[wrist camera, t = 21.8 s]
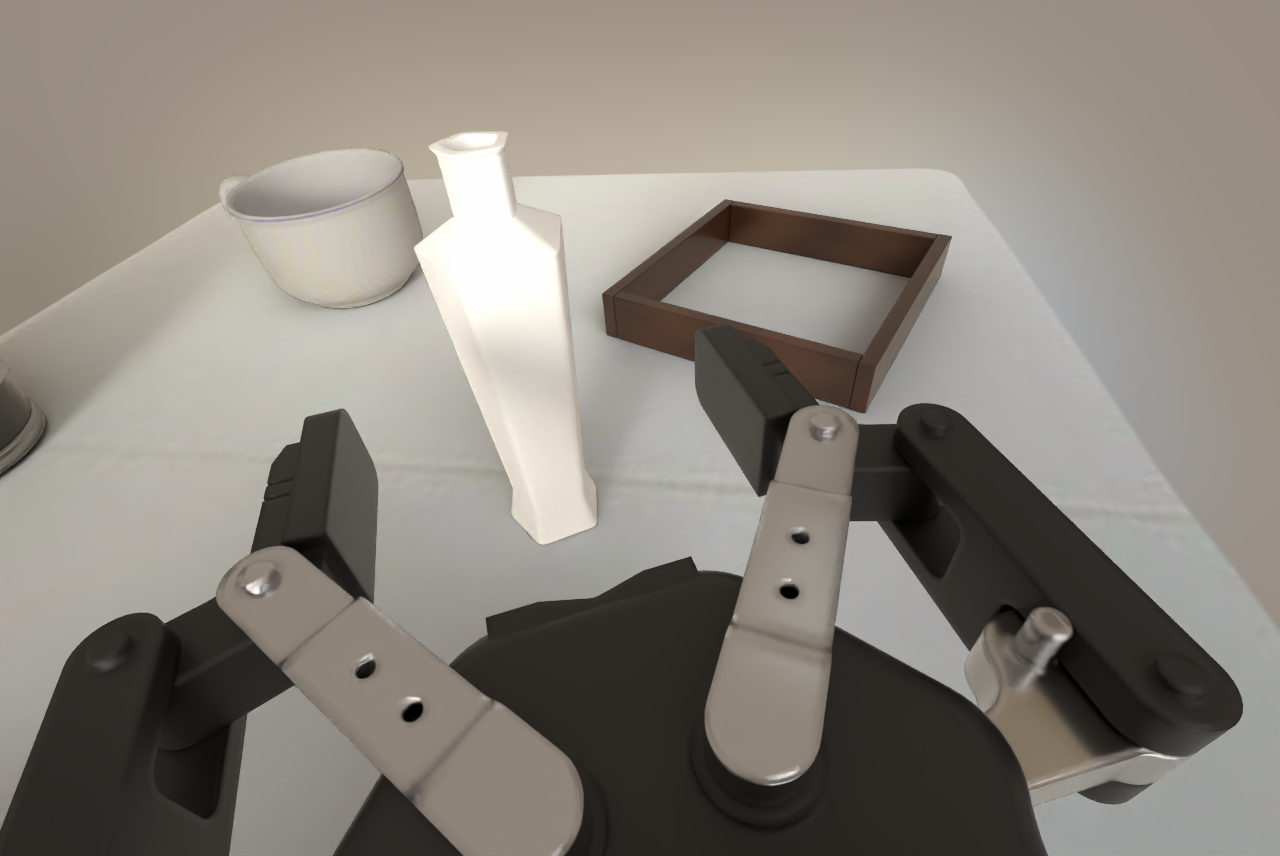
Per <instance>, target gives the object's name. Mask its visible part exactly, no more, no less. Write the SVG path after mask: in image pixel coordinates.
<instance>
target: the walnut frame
mask: <svg viewBox="0 0 1280 856" xmlns="http://www.w3.org/2000/svg"><path fill="white" fill-rule="evenodd" d="M951 238H952V236H947V235H941V234H933V233H927V232H921V231H915V230H909V229H903V228H897V227H891V226H884V225H878V224H872V223H866V222H860V221H854V220H848V219H841V218H835V217H829V216H823V215H817V214H811V213H805V212H799V211H792V210H786V209H780V208H774V207H768V206H762V205H756V204H750V203H743V202H737V201H735V202H734V201H732V200H726V199H725V200H724V201H722V202H721V203H720V204H718V205H717V206H716V207H715V208H713V209H712V210H711V211H709V212H708V213H707V214H705V215H704V216H703V217H701V218H700V219H699V220H698V221H696V222H695V223H694V224H692V225H691V226H690V227H688V228H687V229H686V230H685V231H683V232H682V233H681V234H679V235H678V236H677V237H675V238H674V239H673V240H672V241H670V242H669V243H668V244H666V245H665V246H664V247H662V248H661V249H660V250H659V251H657V252H656V253H655V254H653V255H652V256H651V257H649V258H648V259H647V260H646V261H644V262H643V263H642V264H640V265H639V266H638V267H636V268H635V269H634V270H633V271H631V272H630V273H629V274H627V275H626V276H625V277H623V278H622V279H621V280H620V281H618V282H617V283H616V284H614V285H613V286H612V287H610V288H609V289H608V290H607V291H605V292H604V293H603V294H602V298H603V306H604V314H605V322H606V331H607V335H610V336H613V337H616V338H620V339H623V340H627V341H630V342H633V343H637V344H640V345H643V346H646V347H650V348H653V349H656V350H659V351H663V352H666V353H669V354H673V355H676V356H679V357H682V358H686V359H689V360H692V361H695V333H696V330H697V329H700V328H705V327H709V326H713V325H718V324H722V323H729V324H730V325H731V327H732V328H733V329H734V330H735V331H736V333H737V334H738V335H739V336H740V337H741V339H742V340H745V339H749V338H753V339H755V340H757V341H759V342H761V343H762V344H764V345H766V346H768V347H770V348H771V350H772V351H773V352H774V353H775V354H776V355H777V357H778V358H779V359H780V362H783V363H784V365H785V366H786V367H787V368H788V369H789V372H791V373H792V374H793V375H794V376H795V377H796V378H797V379H798V381H799V382H800V383H801V384H802V385H803V386H804V388H805V389H806V390H807V391H808V392H809V393H810V394H811V396H812V397H814V398H817V399H820V400H824V401H827V402H830V403H834V404H837V405H840V406H843V407H847V408H848V407H849V409H852V410H855V411H859V412H862V413H865V412H866V410H867V409H868V407H869V405H870V403H871V401H872V400H873V398H874V396H875V394H876V392H877V391H878V389H879V387H880V385H881V383H882V381H883V380H884V378H885V376H886V374H887V372H888V371H889V369H890V367H891V365H892V363H893V362H894V360H895V358H896V356H897V354H898V353H899V351H900V349H901V347H902V345H903V343H904V342H905V340H906V338H907V336H908V334H909V333H910V331H911V329H912V327H913V325H914V324H915V322H916V320H917V318H918V316H919V315H920V313H921V311H922V309H923V307H924V305H925V304H926V302H927V300H928V298H929V296H930V295H931V293H932V291H933V289H934V287H935V286H936V284H937V282H938V280H939V278H940V276H941V273H942V269H943V266H944V262H945V259H946V255H947V252H948V249H949V245H950V242H951ZM728 241H731V242H736V243H741V244H746V245H751V246H756V247H761V248H766V249H772V250H777V251H782V252H787V253H792V254H797V255H802V256H807V257H812V258H817V259H822V260H827V261H833V262H838V263H843V264H848V265H853V266H858V267H863V268H868V269H873V270H878V271H883V272H888V273H893V274H899V275H904V276H909V277H912V278H911V279H910V281H909V283H908V284H907V286H906V288H905V289H904V291H903V292H902V294H901V296H900V297H899V299H898V300H897V302H896V304H895V305H894V307H893V309H892V310H891V312H890V313H889V315H888V317H887V318H886V320H885V321H884V323H883V325H882V326H881V328H880V330H879V331H878V333H877V334H876V336H875V338H874V339H873V341H872V342H871V344H870V346H869V347H868V349H867V351H866V352H865V354H864V355H862V354H859V353H855V352H851V351H847V350H843V349H839V348H836V347H832V346H828V345H824V344H820V343H817V342H813V341H809V340H805V339H801V338H797V337H794V336H790V335H786V334H782V333H778V332H774V331H771V330H767V329H763V328H759V327H755V326H752V325H748V324H744V323H740V322H736V321H732V320H729V319H725V318H721V317H717V316H713V315H709V314H706V313H702V312H698V311H694V310H690V309H687V308H683V307H679V306H675V305H671V304H667V303H664V302H660V300H661V299H663V298H664V297H665V296H666V295H667V294H668V293H669V292H671V291H672V290H673V289H674V288H675V287H676V286H678V285H679V284H680V283H681V282H682V281H683V280H684V279H686V278H687V277H688V276H689V275H690V274H691V273H693V272H694V271H695V270H696V269H697V268H698V267H699V266H701V265H702V264H703V263H704V262H705V261H706V260H707V259H709V258H710V257H711V256H712V255H713V254H714V253H716V252H717V251H718V250H719V249H720V248H721V247H722V246H724V245H725V244H726V243H727V242H728Z"/></svg>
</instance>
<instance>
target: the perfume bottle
mask: <svg viewBox="0 0 1280 856" xmlns="http://www.w3.org/2000/svg"><path fill="white" fill-rule="evenodd" d="M507 138H508V134H507V132H501V131H495V132H492V131H485V132H483V131H480V132H479V131H476V132H475V131H474V132H473V131H472V132H471V131H470V132H462V133H458V134H456V135H453V136H451V137H448V138H446V139H443V140H441V141H438V142H436V143H433V144H431V145H430V146H429V149H430V150H431V151H432V152H434V153H435V154H436V155H437V158H438V161H439V165H440V169H441V172H442V176H443V179H444V183H445V187H446V190H447V194H448V198H449V201H450V205H451V208H452V212H453V216H452V217H451V218H450V219H449V220H447V221H446V222H445V223H443V224H442V225H441V226H440V227H438V228H437V229H436V230H434V231H433V232H432V233H431V234H429V235H428V236H427V237H426V238H424V239H423V240H422V241H420V242H419V243H418V244H417V245H415V246H414V250H415V253H416V255H417V258H418V260H419V262H420V265H421V267H422V270H423V272H424V274H425V277H426V279H427V282H428V284H429V287H430V289H431V291H432V294H433V296H434V299H435V301H436V304H437V306H438V308H439V311H440V313H441V316H442V318H443V320H444V323H445V325H446V328H447V330H448V333H449V335H450V337H451V340H452V342H453V345H454V347H455V350H456V352H457V354H458V357H459V359H460V362H461V364H462V366H463V369H464V371H465V374H466V376H467V379H468V381H469V383H470V386H471V388H472V391H473V393H474V396H475V398H476V400H477V403H478V405H479V408H480V410H481V412H482V415H483V417H484V420H485V422H486V425H487V427H488V429H489V432H490V434H491V437H492V439H493V441H494V444H495V446H496V449H497V451H498V454H499V456H500V458H501V461H502V463H503V466H504V468H505V471H506V473H507V475H508V478H509V480H510V483H511V485H512V487H513V495H512V509H511V514H512V516H513V517H514V518H515V519H516V520H517V522H518V523H519V524H520V525H521V526H522V527H523V528H524V529H525V530H526V531H527V532H528V533H529V535H530V536H531V537H532V538H533V539H534V540H535V541H536V542H537V543H538V544H540V545H545V544H548V543H551V542H554V541H557V540H560V539H562V538H565V537H568V536H571V535H573V534H576V533H579V532H582V531H585V530H587V529H590V528H592V527H594V526H595V525H596V524H597V503H596V485H595V483H594V482H593V480H592V478H591V477H590V475H589V473H588V471H587V470H586V468H585V466H584V457H583V446H582V435H581V425H580V414H579V403H578V393H577V382H576V371H575V361H574V350H573V339H572V329H571V318H570V307H569V297H568V286H567V275H566V265H565V254H564V243H563V233H562V222H561V216H560V215H557V214H554V213H550V212H547V211H543V210H540V209H536V208H533V207H529V206H526V205H522V204H519V203H517V201H516V196H515V191H514V186H513V181H512V177H511V172H510V167H509V162H508V157H507V152H506V147H505V145H506V141H507Z"/></svg>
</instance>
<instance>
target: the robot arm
mask: <svg viewBox="0 0 1280 856" xmlns="http://www.w3.org/2000/svg"><path fill="white" fill-rule="evenodd" d="M9 369H10V368H9V367H8V366H7V365H6V364H5V363H4V362H3V361H2V360H1V359H0V475H1V474H2V473H3V472H5V471H6V470H8V469H9V468H10V467H11V466H13V465H14V464H15V463H17V462H18V461H19V460H20V459H21V458H22V457H23V456H24V455H26V454H27V453H28V452H29V451H30V450H31V448H32V447H33V446H34V445H35V444H36V443H37V441H38V440H39V439H40V437H41V435H42V434H43V431H44V429H45V425H46V419H45V416H44V414H43V413H42V412H41V411H40V410H39V408H38V407H37V406H36V405H35V404H34V403H33V402H32V401H31V400H30V399H29V398H27V397H25V396H23V395H22V394H21V393H20V392H19V391H18V390H17V389H16V388H15V387H14V385H13V384H12V383H11V382H10V381H9V380H8V379H7V378H6V377H5V376H6V374H7V372H8V371H9ZM695 385H696V391H697V395H698V398H699V401H700V403H701V405H702V407H703V409H704V410H705V412H706V414H707V415H708V417H709V418H710V420H711V422H712V423H713V425H714V426H715V428H716V430H717V431H718V433H719V434H720V436H721V438H722V439H723V441H724V442H725V444H726V446H727V447H728V449H729V450H730V452H731V454H732V455H733V457H734V458H735V460H736V462H737V463H738V465H739V466H740V468H741V470H742V471H743V473H744V474H745V476H746V478H747V479H748V481H749V482H750V484H751V486H752V487H753V489H754V490H755V492H756V494H757V495H758V497H760V496H764V495H766V498H765V502H764V506H763V509H762V513H761V516H760V520H759V524H758V527H757V531H756V535H755V538H754V542H753V545H752V549H751V553H750V556H749V560H748V563H747V567H746V571H745V574H744V577H741V576H738V575H734V574H731V573H726V572H719V571H698V570H697V568H696V566H695V564H694V562H693V560H692V557H687V558H684V559H681V560H677V561H674V562H671V563H667V564H664V565H661V566H657V567H654V568H651V569H647V570H644V571H642V572H640V573H638V574H636V575H635V576H633V577H631V578H629V579H628V580H626V581H624V582H622V583H621V584H619V585H617V586H615V587H614V588H612V589H610V590H608V591H607V592H605V593H603V594H601V595H599V596H597V597H594V598H588V599H574V600H559V601H545V602H537V603H533V604H530V605H527V606H523V607H520V608H517V609H513V610H510V611H507V612H503V613H500V614H497V615H493V616H490V617H487V618H486V624H487V632H488V635H486V636H484V637H482V638H481V639H479V640H478V641H476V642H475V643H473V644H472V645H471V646H469V647H468V648H467V649H466V650H464V651H463V652H462V653H461V654H460V655H459V656H458V657H457V658H456V659H455V660H454V661H453V662H452V663H451V664H450V665H449V666H448V665H447V664H446V663H444V662H443V661H442V660H441V659H439V658H438V657H437V656H436V655H435V654H433V653H432V652H431V651H430V650H428V649H427V648H426V647H425V646H423V645H422V644H421V643H420V642H419V641H417V640H416V639H415V638H414V637H412V636H411V635H410V634H409V633H407V632H406V631H405V630H404V629H402V628H401V627H400V626H399V625H398V624H396V623H395V622H394V621H393V620H391V619H390V618H389V617H388V616H386V615H385V614H384V613H383V612H381V611H380V610H379V609H378V608H377V607H375V606H374V581H375V556H376V531H377V506H378V478H377V473H376V470H375V466H374V463H373V461H372V459H371V457H370V455H369V453H368V451H367V449H366V447H365V445H364V443H363V441H362V439H361V437H360V435H359V433H358V431H357V429H356V427H355V425H354V423H353V421H352V419H351V417H350V416H349V414H348V412H347V411H346V410H345V409H339V410H334V411H330V412H325V413H321V414H317V415H312V416H308V417H306V418H305V420H304V425H303V430H302V435H301V440H300V442H299V443H295V444H291V445H286V446H285V448H284V449H283V450H282V452H281V453H280V454H279V455H278V457H277V458H276V459H275V461H274V462H273V463H272V465H271V469H270V473H269V478H268V482H267V484H268V486H267V487H266V490H265V494H264V501H265V502H263V503H262V507H261V511H260V515H259V520H258V524H257V528H256V532H255V536H254V541H253V545H252V549H251V553H250V555H248V556H246V557H245V558H243V559H242V560H240V561H239V562H238V563H236V564H235V565H234V566H233V567H232V568H231V569H230V570H229V571H228V572H227V573H226V574H225V575H224V577H223V578H222V580H221V581H220V583H219V586H218V588H217V592H216V597H214V598H213V599H211V600H209V601H208V602H206V603H204V604H202V605H200V606H198V607H196V608H194V609H192V610H190V611H188V612H186V613H184V614H182V615H180V616H178V617H177V618H175V619H173V620H171V621H169V622H167V623H164V622H162V621H161V620H160V619H159V618H158V617H157V616H155V615H153V614H150V613H133V614H129V615H125V616H122V617H120V618H117V619H115V620H113V621H111V622H108V623H107V624H105V625H103V626H102V627H100V628H98V629H97V630H96V631H94V632H93V633H91V634H90V635H89V636H88V637H87V638H85V639H84V640H83V641H82V642H81V643H80V644H79V645H78V646H77V647H76V648H75V650H74V651H73V652H72V653H71V655H70V656H69V658H68V659H67V661H66V663H65V665H64V667H63V670H62V672H61V675H60V677H59V680H58V683H57V685H56V688H55V690H54V693H53V696H52V698H51V701H50V703H49V706H48V708H47V711H46V714H45V716H44V719H43V721H42V724H41V727H40V729H39V732H38V734H37V737H36V740H35V742H34V745H33V747H32V750H31V752H30V755H29V758H28V760H27V763H26V765H25V768H24V771H23V773H22V776H21V778H20V781H19V784H18V786H17V789H16V791H15V794H14V797H13V799H12V802H11V804H10V807H9V809H8V812H7V815H6V817H5V820H4V822H3V825H2V828H1V830H0V856H229V851H230V843H231V836H232V828H233V820H234V813H235V805H236V797H237V789H238V782H239V774H240V766H241V758H242V751H243V743H244V735H245V727H246V720H247V713H248V712H250V711H252V710H253V709H255V708H257V707H259V706H260V705H262V704H264V703H265V702H267V701H269V700H270V699H272V698H274V697H275V696H277V695H279V694H280V693H282V692H284V691H285V690H287V689H289V688H290V687H292V686H294V685H295V686H296V687H297V688H298V689H299V690H300V691H301V692H302V693H303V694H304V695H305V696H306V697H307V698H308V699H309V700H310V701H311V702H312V703H313V704H314V705H315V706H316V707H317V708H318V709H319V710H320V711H321V712H322V713H323V714H324V715H325V716H326V717H327V718H328V719H329V720H330V721H331V722H332V723H333V724H334V725H335V726H336V727H337V728H338V730H339V731H340V732H341V733H342V734H343V735H344V736H345V737H346V738H347V739H348V740H349V741H350V742H351V743H352V744H353V745H354V746H355V747H356V748H357V749H358V750H359V751H360V752H361V753H362V754H363V755H364V756H365V757H366V758H367V759H368V760H369V761H370V762H371V763H372V764H373V765H374V766H375V768H376V769H377V770H378V771H379V772H380V773H381V775H380V777H379V779H378V780H377V782H376V784H375V785H374V787H373V789H372V790H371V792H370V794H369V795H368V797H367V799H366V800H365V802H364V804H363V805H362V807H361V809H360V810H359V812H358V814H357V815H356V817H355V819H354V820H353V822H352V824H351V825H350V827H349V829H348V830H347V832H346V834H345V836H344V837H343V839H342V841H341V842H340V844H339V846H338V847H337V849H336V851H335V852H334V854H333V856H1048V854H1047V852H1046V849H1045V847H1044V844H1043V841H1042V839H1041V836H1040V832H1039V829H1038V826H1037V823H1036V819H1035V815H1034V811H1033V806H1036V805H1039V804H1042V803H1045V802H1048V801H1051V800H1054V799H1057V798H1060V797H1064V796H1067V795H1070V794H1073V793H1076V792H1078V793H1079V794H1081V795H1083V796H1085V797H1086V798H1088V799H1091V800H1094V801H1096V802H1100V803H1104V804H1113V805H1114V804H1122V803H1125V802H1127V801H1129V800H1130V799H1132V798H1133V797H1135V796H1136V795H1138V794H1139V793H1140V792H1142V791H1143V790H1145V789H1146V788H1147V787H1149V786H1150V785H1152V784H1153V783H1154V782H1156V781H1157V780H1159V779H1160V778H1162V777H1163V776H1164V775H1166V774H1167V773H1169V772H1170V771H1171V770H1173V769H1174V768H1176V767H1177V766H1178V765H1180V764H1181V763H1183V762H1184V761H1185V760H1187V759H1188V758H1190V757H1191V756H1193V755H1194V754H1195V753H1197V752H1198V751H1199V750H1201V749H1202V748H1204V747H1205V746H1207V745H1208V744H1209V743H1211V742H1212V741H1214V740H1215V739H1217V738H1218V737H1219V736H1221V735H1222V734H1224V733H1225V732H1226V731H1228V730H1229V729H1231V728H1232V727H1233V726H1235V725H1236V724H1237V723H1238V722H1239V720H1240V719H1241V716H1242V713H1243V703H1242V698H1241V695H1240V693H1239V690H1238V688H1237V687H1236V685H1235V683H1234V681H1233V680H1232V679H1231V677H1230V676H1229V675H1228V673H1227V672H1226V671H1225V670H1224V669H1223V668H1222V667H1221V666H1220V665H1219V664H1218V663H1217V662H1216V661H1215V660H1214V659H1213V658H1212V657H1211V656H1210V655H1209V654H1208V653H1207V652H1206V651H1205V650H1204V649H1203V648H1202V647H1201V646H1200V645H1198V644H1197V643H1196V642H1195V641H1194V640H1193V639H1192V638H1191V637H1190V636H1189V635H1188V634H1187V633H1186V632H1185V631H1184V630H1183V629H1182V628H1181V627H1180V626H1179V625H1178V624H1177V623H1176V622H1175V621H1174V620H1173V619H1172V618H1171V617H1170V616H1169V615H1168V614H1167V613H1166V612H1164V611H1163V610H1162V609H1161V608H1160V607H1159V606H1158V605H1157V604H1156V603H1155V602H1154V601H1153V600H1152V599H1151V598H1150V597H1149V596H1148V595H1147V594H1146V593H1145V592H1144V591H1143V590H1142V589H1141V588H1140V587H1139V586H1138V585H1137V584H1136V583H1135V582H1134V581H1133V580H1131V579H1130V578H1129V577H1128V576H1127V575H1126V574H1125V573H1124V572H1123V571H1122V570H1121V569H1120V568H1119V567H1118V566H1117V565H1116V564H1115V563H1114V562H1113V561H1112V560H1111V559H1110V558H1109V557H1108V556H1107V555H1106V554H1105V553H1104V552H1103V551H1102V550H1101V549H1100V548H1099V547H1097V546H1096V545H1095V544H1094V543H1093V542H1092V541H1091V540H1090V539H1089V538H1088V537H1087V536H1086V535H1085V534H1084V533H1083V532H1082V531H1081V530H1080V529H1079V528H1078V527H1077V526H1076V525H1075V524H1074V523H1073V522H1072V521H1071V520H1070V519H1069V518H1068V517H1067V516H1066V515H1064V514H1063V513H1062V512H1061V511H1060V510H1059V509H1058V508H1057V507H1056V506H1055V505H1054V504H1053V503H1052V502H1051V501H1050V500H1049V499H1048V498H1047V497H1046V496H1045V495H1044V494H1043V493H1042V492H1041V491H1040V490H1039V489H1038V488H1037V487H1036V486H1035V485H1034V484H1033V483H1032V482H1030V481H1029V480H1028V479H1027V478H1026V477H1025V476H1024V475H1023V474H1022V473H1021V472H1020V471H1019V470H1018V469H1017V468H1016V467H1015V466H1014V465H1013V464H1012V463H1011V462H1010V461H1009V460H1008V459H1007V458H1006V457H1005V456H1004V455H1003V454H1002V453H1001V452H1000V451H999V450H997V449H996V448H995V447H994V446H993V445H992V444H991V443H990V442H989V441H988V440H987V439H986V438H985V437H984V436H983V435H982V434H981V433H980V432H979V431H978V430H977V429H976V428H975V427H974V426H973V425H972V424H971V423H970V422H969V421H968V420H967V419H966V418H964V417H963V416H962V415H961V414H959V413H958V412H956V411H954V410H952V409H950V408H947V407H945V406H941V405H937V404H929V403H920V404H914V405H911V406H908V407H906V408H905V409H903V410H902V411H901V413H900V414H899V417H898V420H897V424H874V425H864V424H857V422H856V421H855V419H854V418H853V417H852V416H850V415H849V414H848V413H846V412H845V411H842V410H840V409H838V408H835V407H830V406H823V405H819V404H818V402H817V401H816V400H815V399H814V398H813V397H812V396H811V394H810V393H809V392H808V391H807V390H806V389H805V388H804V386H803V385H802V384H801V383H800V382H799V381H798V379H797V378H796V377H795V376H794V375H793V374H792V373H791V372H789V369H788V368H787V367H786V366H785V365H784V363H783V362H780V359H779V358H778V357H777V355H776V354H775V353H774V352H773V351H772V350H771V348H770V347H768V346H766V345H764V344H762V343H761V342H759V341H757V340H755V339H753V338H749V339H745V340H742V339H741V337H740V336H739V335H738V334H737V333H736V331H735V330H734V329H733V328H732V327H731V325H730V324H729V323H722V324H718V325H713V326H709V327H705V328H700V329H697V330H696V333H695ZM849 521H877V522H878V523H879V524H880V526H881V527H882V529H883V530H884V531H885V533H886V534H887V536H888V537H889V539H890V540H891V541H892V543H893V544H894V546H895V547H896V548H897V550H898V551H899V553H900V554H901V555H902V557H903V558H904V560H905V561H906V563H907V564H908V565H909V567H910V568H911V570H912V571H913V572H914V574H915V575H916V577H917V578H918V579H919V581H920V582H921V584H922V585H923V587H924V588H925V589H926V591H927V592H928V594H929V595H930V596H931V598H932V599H933V601H934V602H935V604H936V605H937V606H938V608H939V609H940V611H941V612H942V613H943V615H944V616H945V618H946V619H947V620H948V622H949V623H950V625H951V626H952V628H953V629H954V630H955V632H956V633H957V635H958V636H959V637H960V639H961V640H962V642H963V643H964V644H965V646H966V647H967V649H968V650H969V652H970V653H969V654H968V656H967V658H966V661H965V676H966V679H967V682H968V685H969V687H970V688H971V690H972V692H973V694H974V696H975V699H976V702H977V706H978V707H977V706H976V705H974V704H973V703H972V702H971V701H969V700H968V699H967V698H965V697H964V696H963V695H961V694H959V693H958V692H956V691H954V690H953V689H951V688H949V687H948V686H946V685H944V684H942V683H940V682H938V681H936V680H935V679H933V678H931V677H929V676H927V675H925V674H924V673H922V672H920V671H918V670H916V669H914V668H912V667H911V666H909V665H907V664H905V663H903V662H901V661H900V660H898V659H896V658H894V657H892V656H890V655H889V654H887V653H885V652H883V651H881V650H879V649H877V648H876V647H874V646H872V645H870V644H868V643H866V642H865V641H863V640H861V639H859V638H857V637H855V636H853V635H852V634H850V633H848V632H846V631H844V630H842V629H841V628H839V627H837V626H835V621H836V614H837V606H838V599H839V592H840V585H841V577H842V570H843V563H844V555H845V548H846V541H847V533H848V526H849Z"/></svg>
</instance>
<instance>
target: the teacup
mask: <svg viewBox="0 0 1280 856" xmlns="http://www.w3.org/2000/svg"><path fill="white" fill-rule="evenodd" d="M219 198H220V201H221V203H222V205H223V208H224V209H225V211H226V212H227V214H228V215H229V217H230V218H231V219H232V220H233V221H234V222H235V223H236V224H237V225H238V226H239V227H240V228H241V230H242V232H243V234H244V235H245V237H246V239H247V240H248V242H249V244H250V246H251V247H252V249H253V251H254V252H255V254H256V255H257V257H258V259H259V260H260V262H261V263H262V265H263V267H264V268H265V269H266V271H267V272H268V274H269V275H270V277H271V278H272V279H273V280H274V282H275V283H276V284H277V285H278V286H279V287H280V288H281V289H282V290H284V291H285V292H286V293H287V294H289V295H291V296H293V297H294V298H297V299H299V300H302V301H305V302H309V303H314V304H318V305H321V306H324V307H329V308H339V309H343V308H354V307H361V306H365V305H369V304H372V303H375V302H377V301H380V300H382V299H384V298H386V297H388V296H390V295H392V294H393V293H395V292H396V291H398V290H399V289H400V288H401V287H402V286H403V285H404V284H405V283H406V282H407V280H408V279H409V277H410V275H411V273H412V272H413V271H414V270H415V268H416V267H417V266H418V264H419V260H418V258H417V255H416V253H415V250H414V246H415V245H417V244H418V243H419V242H420V241H422V240H423V235H422V229H421V226H420V222H419V218H418V215H417V212H416V208H415V205H414V202H413V199H412V196H411V193H410V190H409V187H408V184H407V182H406V179H405V176H404V167H403V164H402V161H401V160H400V159H399V158H398V157H397V156H396V155H394V154H392V153H390V152H386V151H383V150H379V149H378V150H377V149H369V148H353V149H352V148H350V149H337V150H329V151H323V152H318V153H312V154H308V155H305V156H300V157H296V158H293V159H289V160H287V161H284V162H281V163H278V164H275V165H273V166H270V167H268V168H266V169H263V170H261V171H259V172H257V173H255V174H253V175H250V176H248V175H243V174H237V175H232V176H230V177H228V178H226V179H225V180H224V181H223V182H222V183H221V185H220V187H219Z"/></svg>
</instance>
